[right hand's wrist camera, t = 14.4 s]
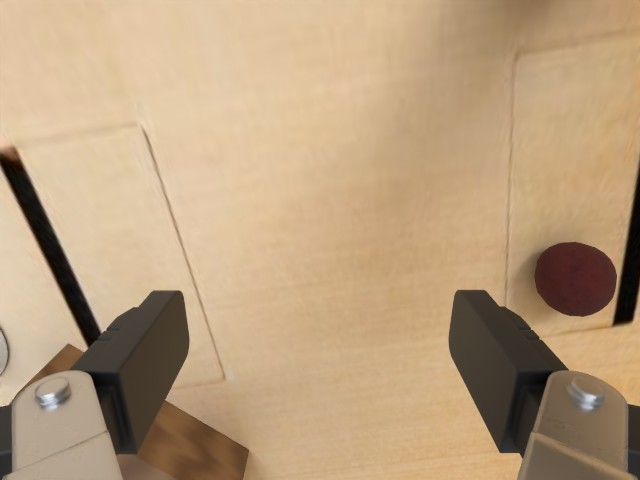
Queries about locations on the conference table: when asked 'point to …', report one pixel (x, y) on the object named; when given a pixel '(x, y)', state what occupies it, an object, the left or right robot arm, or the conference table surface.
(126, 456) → the bar
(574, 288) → the potato
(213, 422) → the conference table surface
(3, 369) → the left robot arm
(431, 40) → the conference table surface
